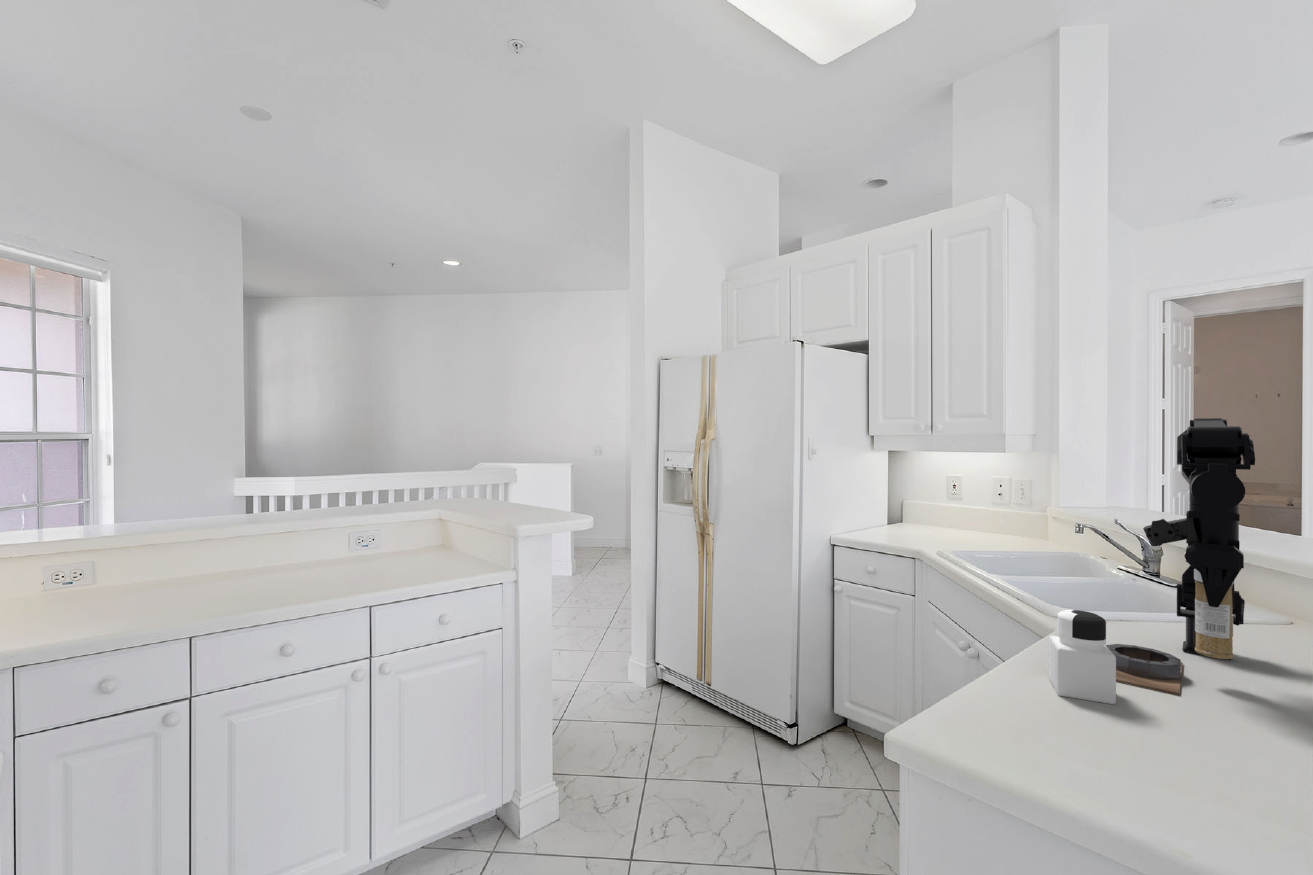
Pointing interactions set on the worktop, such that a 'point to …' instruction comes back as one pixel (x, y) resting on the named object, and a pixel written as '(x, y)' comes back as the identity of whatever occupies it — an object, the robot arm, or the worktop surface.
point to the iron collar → (1146, 662)
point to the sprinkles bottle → (1213, 623)
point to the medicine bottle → (1082, 658)
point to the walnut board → (1151, 682)
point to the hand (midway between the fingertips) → (1213, 603)
